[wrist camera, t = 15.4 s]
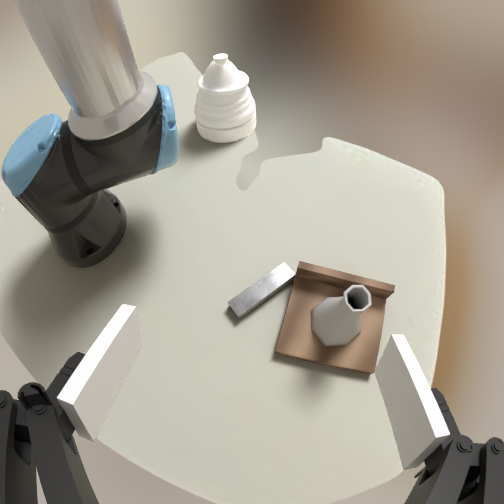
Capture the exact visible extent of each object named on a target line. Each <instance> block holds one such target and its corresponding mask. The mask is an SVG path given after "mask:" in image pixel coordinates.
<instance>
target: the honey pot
mask: <svg viewBox="0 0 504 504" xmlns="http://www.w3.org/2000/svg"><path fill="white" fill-rule="evenodd" d="M213 58H214V60H213V61H212V62H211V63H210V65H209V66H208V68H207V69H206V71H205V73H204V76H202V77H201V78H200V79H199V81H198V88H199V92H198V93H197V99H196V105H195V109H194V113H195V119H196V124H197V129H198V132H199V134H200V135H201V136H202V137H203V138H205V139H207V140H208V141H212V142H218V143H227V142H234V141H238V140H241V139H243V138H245V137H247V136H248V135H249V134H251V133H252V132H253V130H254V129H255V126H256V105H255V101H254V99H253V98H252V95H251V93H250V89H249V88H248V86H247V85H248V82H249V78H248V76H247V75H246V74H245V73H244V72H242V71H238V70H237V68H236V67H235V66H234V65H233V64H232V63H231V62H230V61H229V60H227V59H228V55H227V54H217V55H215V56H214V57H213Z"/></svg>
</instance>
